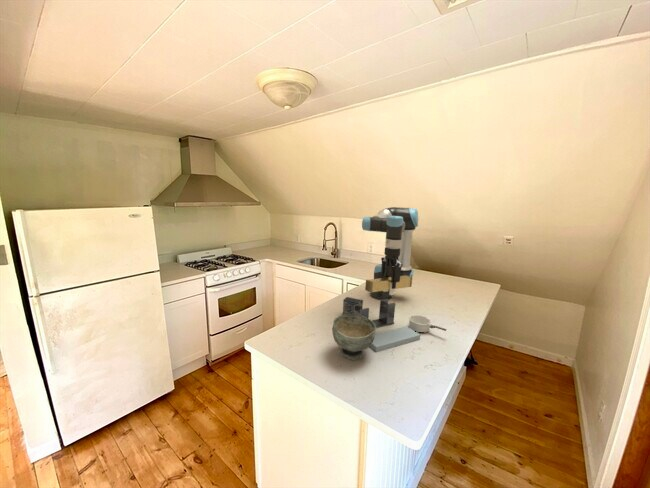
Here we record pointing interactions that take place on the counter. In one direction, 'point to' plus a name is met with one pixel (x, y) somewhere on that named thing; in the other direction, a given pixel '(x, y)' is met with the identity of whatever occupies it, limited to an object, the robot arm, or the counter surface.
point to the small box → (350, 305)
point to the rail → (387, 283)
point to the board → (394, 338)
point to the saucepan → (421, 324)
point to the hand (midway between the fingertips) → (388, 292)
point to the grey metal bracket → (384, 314)
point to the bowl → (353, 334)
